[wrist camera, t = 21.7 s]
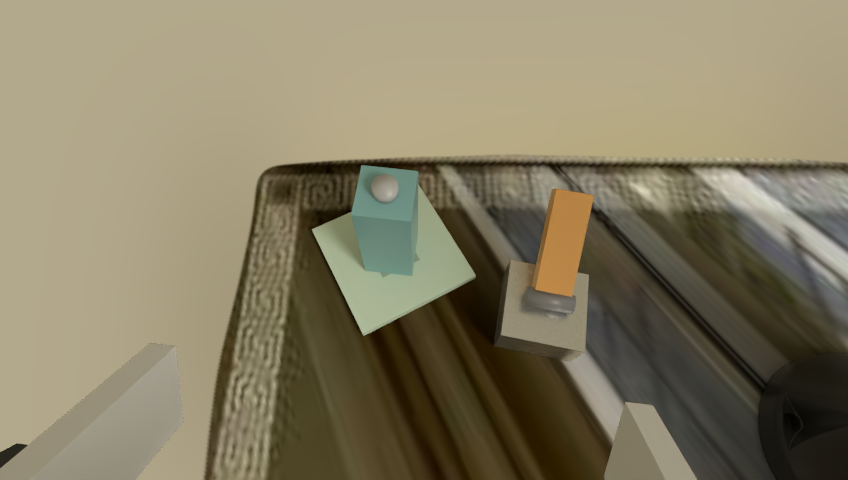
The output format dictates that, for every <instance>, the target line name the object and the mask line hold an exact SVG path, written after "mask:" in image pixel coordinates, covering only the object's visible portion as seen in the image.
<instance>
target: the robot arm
mask: <svg viewBox="0 0 848 480" xmlns="http://www.w3.org/2000/svg"><path fill="white" fill-rule="evenodd" d="M182 422H183V413H182V404H181V394H180V384H179V375H178V364H177V355H176V346H172V345H163V344H156V343H150V344H149V345H147V346H146V347H145V348H144V349H143V350H141V351H140V352H139V353H138V354H137V355H135V356H134V357H133V358H132V359H131V360H129V361H128V362H127V363H126V364H125V365H124V366H122V367H121V368H120V369H119V370H117V371H116V372H115V373H114V374H113V375H112V376H110V377H109V378H108V379H107V380H105V381H104V382H103V383H102V384H101V385H99V386H98V387H97V388H96V389H95V390H94V391H92V392H91V393H90V394H89V395H88V396H86V397H85V398H84V399H83V400H82V401H81V402H79V403H78V404H77V405H76V406H74V407H73V408H72V409H71V410H70V411H68V412H67V413H66V414H65V415H64V416H62V417H61V418H60V419H59V420H58V421H57V422H55V423H54V424H53V425H52V426H51V427H49V428H48V429H47V430H46V431H44V432H43V433H42V434H41V435H40V436H38V437H37V438H36V439H35V440H34V441H32V442H31V443H30V444H29V445H24V444H15V445H13V446H11V447H10V448H8V449H6V450H4V451H2V452H0V480H136V479H137V477H138V476H139V475H140V474H141V472H142V471H143V470H144V469H145V468H146V466H147V465H148V464H149V463H150V461H151V460H152V459H153V458H154V457H155V455H156V454H157V453H158V452H159V451H160V449H161V448H162V447H163V445H164V444H165V443H166V442H167V441H168V440H169V438H170V437H171V436H172V435H173V433H174V432H175V431H176V430H177V429H178V427H179V426H180V425H181V424H182ZM759 431H760V437H761V441H762V446H763V449H764V452H765V455H766V458H767V460H768V463H769V465H770V467H771V469H772V471H773V473H774V475H775V477H776V479H777V480H848V353H826V354H819V355H815V356H811V357H808V358H804V359H800V360H797V361H794V362H791V363H789V364H787V365H786V366H784V367H782V368H781V369H780V370H778V371H777V372H776V373H775V374H774V375H773V377H772V378H771V379H770V381H769V382H768V384H767V385H766V387H765V389H764V392H763V394H762V398H761V402H760V407H759ZM604 478H605V480H697V479H696V477H695V475H694V473H693V472H692V470H691V468H690V467H689V465H688V463H687V462H686V460H685V458H684V457H683V455H682V453H681V452H680V450H679V448H678V447H677V445H676V443H675V442H674V440H673V438H672V437H671V435H670V433H669V432H668V430H667V428H666V427H665V425H664V423H663V422H662V420H661V418H660V416H659V415H658V413H657V411H656V410H655V408H654V406H653V405H647V404H639V403H631V402H625V405H624V408H623V412H622V415H621V419H620V422H619V426H618V429H617V433H616V436H615V440H614V443H613V447H612V450H611V454H610V457H609V461H608V464H607V468H606V471H605V475H604Z"/></svg>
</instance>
